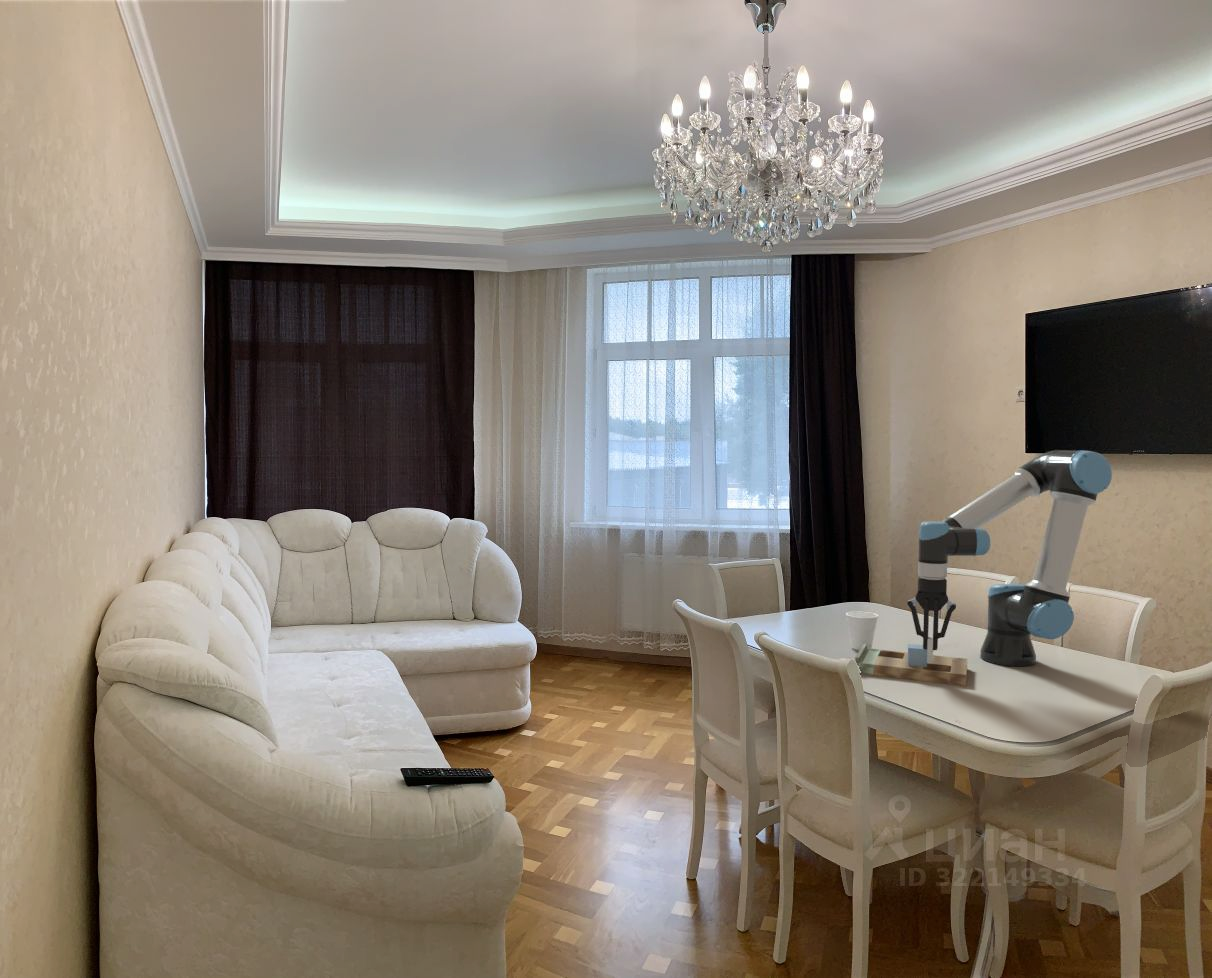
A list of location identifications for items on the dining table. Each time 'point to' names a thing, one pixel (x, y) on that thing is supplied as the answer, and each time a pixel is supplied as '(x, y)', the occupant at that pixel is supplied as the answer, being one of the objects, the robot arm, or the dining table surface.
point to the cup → (861, 628)
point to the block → (917, 655)
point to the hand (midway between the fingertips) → (929, 661)
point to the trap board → (897, 666)
